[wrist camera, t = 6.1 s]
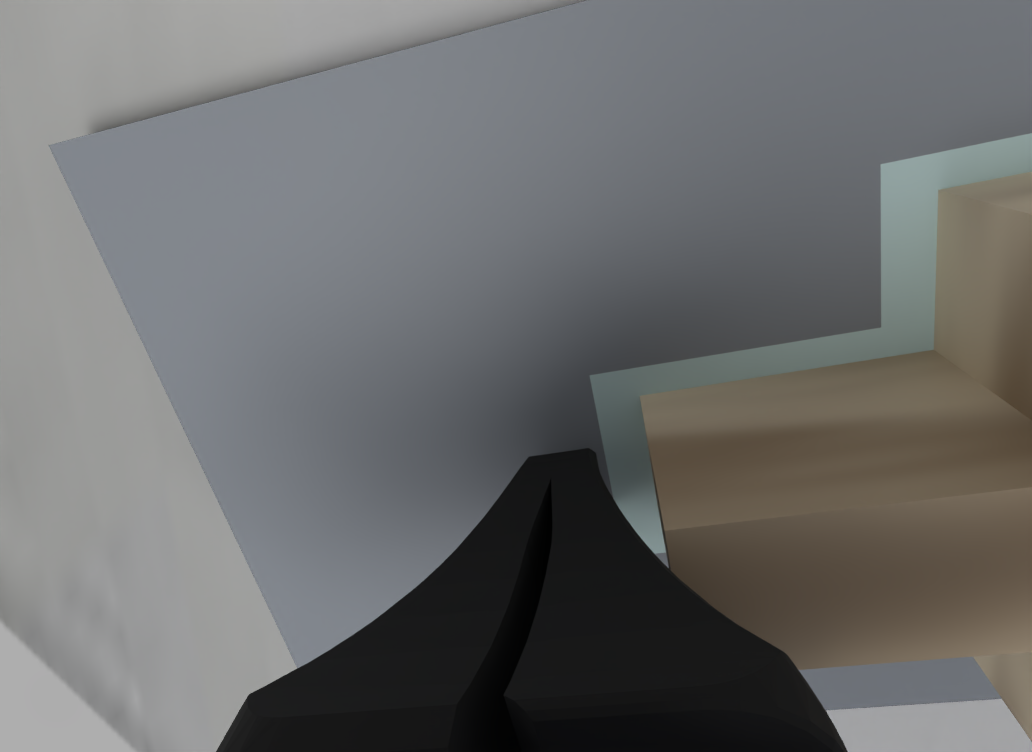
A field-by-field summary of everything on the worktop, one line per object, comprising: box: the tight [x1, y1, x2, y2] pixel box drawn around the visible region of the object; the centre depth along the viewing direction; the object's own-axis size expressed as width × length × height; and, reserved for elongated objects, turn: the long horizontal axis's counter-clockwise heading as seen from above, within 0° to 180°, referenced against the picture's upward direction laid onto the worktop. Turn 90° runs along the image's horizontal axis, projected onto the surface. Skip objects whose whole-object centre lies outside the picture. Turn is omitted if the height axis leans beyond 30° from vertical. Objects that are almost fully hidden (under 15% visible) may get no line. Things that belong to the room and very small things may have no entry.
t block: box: [640, 172, 1032, 741], centre depth 10 cm, size 8×8×4 cm
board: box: [49, 0, 1032, 710], centre depth 12 cm, size 15×19×1 cm
